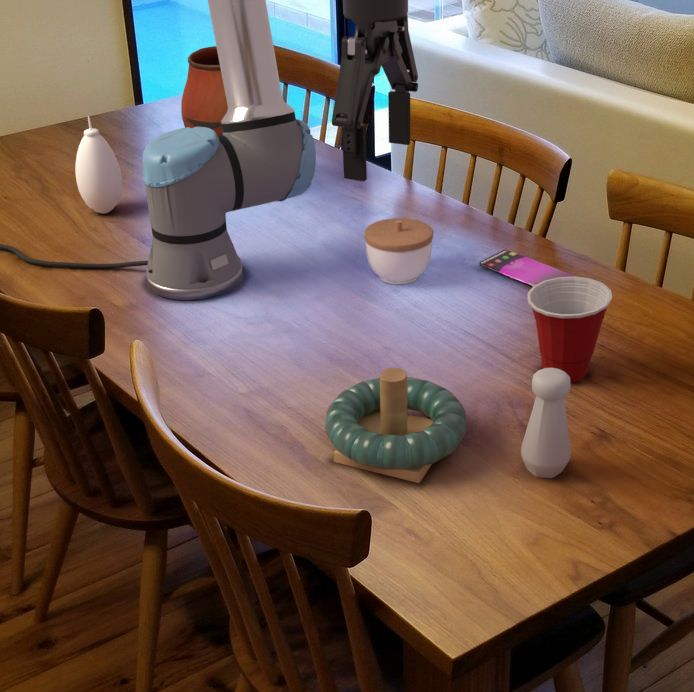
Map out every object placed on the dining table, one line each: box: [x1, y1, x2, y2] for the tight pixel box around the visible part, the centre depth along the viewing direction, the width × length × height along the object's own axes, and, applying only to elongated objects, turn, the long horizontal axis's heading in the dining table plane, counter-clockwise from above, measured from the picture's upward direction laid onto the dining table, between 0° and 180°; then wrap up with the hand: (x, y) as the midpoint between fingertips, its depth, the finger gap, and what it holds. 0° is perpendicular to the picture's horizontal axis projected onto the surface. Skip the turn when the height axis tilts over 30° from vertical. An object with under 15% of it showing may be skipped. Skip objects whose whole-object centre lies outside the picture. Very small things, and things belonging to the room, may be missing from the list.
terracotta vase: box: [180, 45, 228, 136], centre depth 199 cm, size 19×19×25 cm
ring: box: [324, 376, 468, 470], centre depth 130 cm, size 17×17×4 cm
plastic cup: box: [526, 275, 613, 384], centre depth 141 cm, size 11×11×12 cm
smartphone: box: [478, 248, 579, 287], centre depth 170 cm, size 7×15×1 cm, turn 45°
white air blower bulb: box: [74, 115, 123, 215], centre depth 193 cm, size 8×8×18 cm
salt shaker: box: [520, 368, 572, 479], centre depth 123 cm, size 6×6×13 cm
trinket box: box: [364, 217, 434, 286], centre depth 168 cm, size 11×11×9 cm
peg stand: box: [333, 367, 433, 484], centre depth 128 cm, size 11×11×10 cm
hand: (378, 160), depth 134 cm, fingers open, 13 cm apart
